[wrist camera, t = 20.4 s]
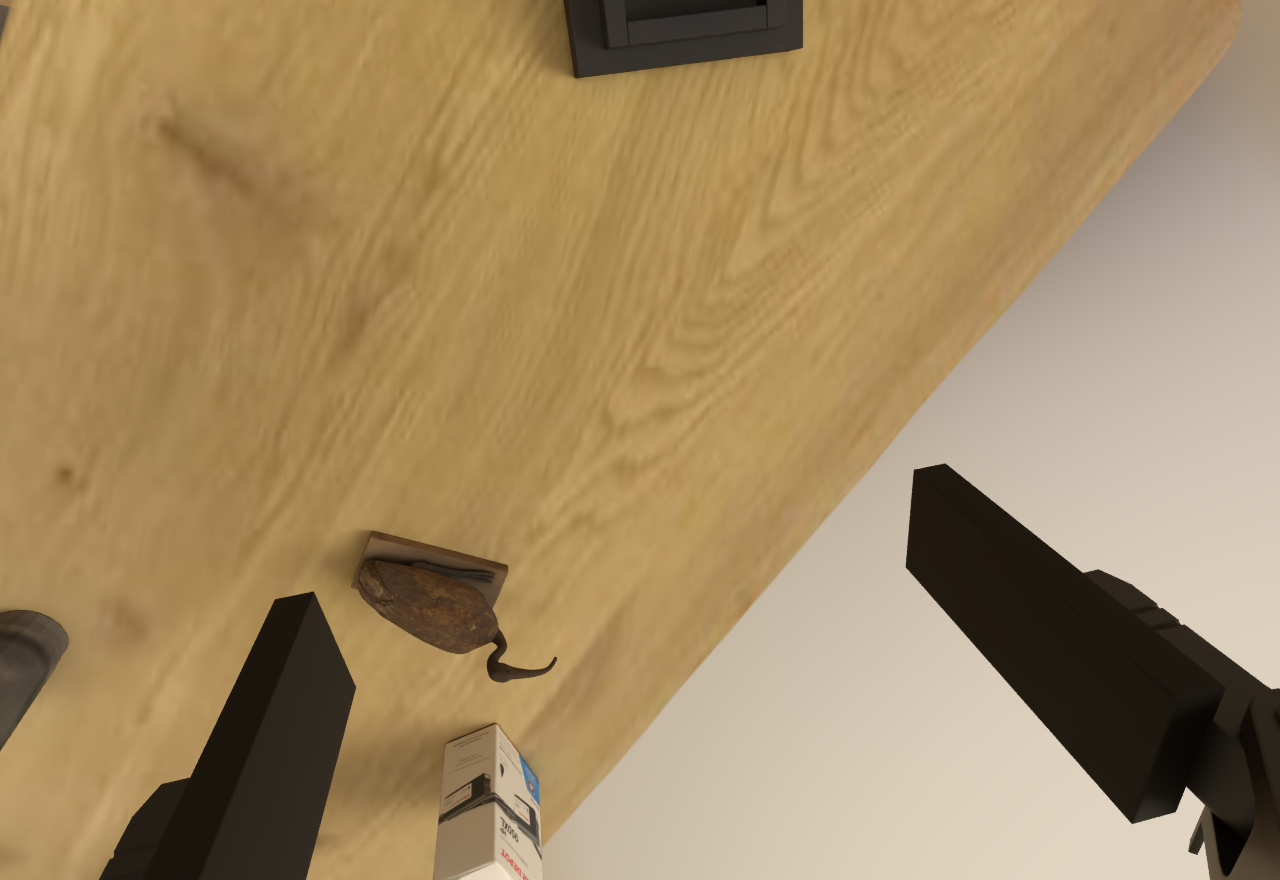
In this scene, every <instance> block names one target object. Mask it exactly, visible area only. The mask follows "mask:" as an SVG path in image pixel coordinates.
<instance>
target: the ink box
mask: <svg viewBox="0 0 1280 880" xmlns="http://www.w3.org/2000/svg"><path fill="white" fill-rule="evenodd" d="M433 880H543V874H542V850H541V829H540V807H539V782H538V779H537V777H536V776H535V775H534V774H533V772H532V771H531V770H530V768H529V767H528V765H527V764H526V763H525V761H524V760H523V759H522V757H521V756H520V755H519V753H518V752H517V751H516V749H515V748H514V746H513V745H512V744H511V742H510V741H509V740H508V738H507V737H506V736H505V734H504V733H503V732H502V730H501V729H500V728H499V726H498V725H497V724H494V725H491V726H489V727H487V728H484V729H482V730H479V731H477V732H474V733H472V734H469V735H467V736H465V737H462V738H460V739H458V740H455V741H452V742H450V743H448V744H446V746H445V755H444V767H443V778H442V789H441V800H440V811H439V821H438V830H437V840H436V851H435V861H434V871H433Z"/></svg>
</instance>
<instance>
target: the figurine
mask: <svg viewBox="0 0 1280 880" xmlns="http://www.w3.org/2000/svg"><path fill="white" fill-rule="evenodd" d="M507 574H508V566H507V565H504V564H499V563H496V562H492V561H487V560H484V559H480V558H476V557H472V556H468V555H464V554H461V553H457V552H453V551H449V550H445V549H441V548H438V547H434V546H430V545H426V544H422V543H418V542H415V541H411V540H407V539H403V538H399V537H395V536H391V535H387V534H383V533H379V532H375V531H373V532H372V534H371V536H370V539H369V541H368V544H367V547H366V549H365V552H364V555H363V557H362V560H361V562H360V565H359V567H358V570H357V573H356V575H355V578H354V580H353V583H352V585H351V587H352V588H354V589H358V590H359V592H360V595H361V596H362V598H363V599H364V600H365V601H366V602H367V603H368V604H369V605H370V606H371V607H373V608H374V609H375V610H376V611H377V612H378V613H379V614H380V615H381V616H382V617H384V618H385V619H387V620H389V621H390V622H392V623H394V624H395V625H397V626H398V627H400V628H402V629H403V630H405V631H406V632H408V633H410V634H411V635H413V636H415V637H416V638H418V639H420V640H422V641H424V642H426V643H428V644H430V645H432V646H434V647H437V648H439V649H441V650H444V651H447V652H450V653H456V654H464V653H468V652H470V651H472V650H474V649H477V648H479V647H481V646H483V645H485V644H488V643H490V642H493V643H495V644H496V645H497V649H496V650H495V651H494V652H493V653H492V654H491V655H490V656H489V658H488V661H487V671H488V674H489V677H490V678H491V679H492V680H494V681H496V682H507V681H509V680H511V679H521V678H530V677H535V676H540V675H543V674H545V673H547V672H548V671H549V670H551V669H552V667H553V666H554V665H555V663H556V661H557V657H554V659H553V661H552V662H551V664H550V665H549V666H548V667H546V668H543V669H538V670H527V669H520V668H515V667H511V666H509V665H507V664H504V663H499V662H498V660H499V658H500V657H501V656H502V655H503V654H504V653H505V651H506V649H507V643H506V640H505V638H504V636H503V634H502V632H501V631H500V630H499V628H498V622H497V618H496V616H495V613H494V612H493V610H492V609H493V607H494V604H495V602H496V600H497V597H498V595H499V593H500V590H501V588H502V586H503V583H504V581H505V578H506V576H507Z"/></svg>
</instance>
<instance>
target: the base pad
mask: <svg viewBox="0 0 1280 880" xmlns="http://www.w3.org/2000/svg"><path fill="white" fill-rule="evenodd" d="M564 5H565V12H566V19H567V26H568V33H569V40H570V47H571V54H572V61H573V68H574V75H575V78H583V77H590V76H598V75H606V74H614V73H622V72H630V71H637V70H645V69H653V68H661V67H669V66H676V65H684V64H692V63H700V62H708V61H715V60H723V59H731V58H739V57H747V56H754V55H762V54H770V53H778V52H786V51H791V50H796V49H800V48H803V0H564Z"/></svg>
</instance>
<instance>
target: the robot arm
mask: <svg viewBox="0 0 1280 880" xmlns="http://www.w3.org/2000/svg"><path fill="white" fill-rule="evenodd" d="M906 568H907V569H908V570H909V571H910V573H911V574H912V575H913V576H914V577H915V578H916V579H917V580H918V581H919V583H920V584H921V585H922V586H923V587H924V588H925V590H926V591H927V592H928V593H929V594H930V595H931V596H932V597H933V599H934V600H935V601H936V602H937V603H938V604H939V605H940V607H941V608H942V609H943V610H944V611H945V612H946V613H947V615H948V616H949V617H950V618H951V619H952V620H953V621H954V622H955V623H956V625H957V626H958V627H959V628H960V629H961V630H962V632H963V633H964V634H965V635H966V636H967V637H968V638H969V639H970V641H971V642H972V643H973V644H974V645H975V646H976V647H977V648H978V650H979V651H980V652H981V653H982V654H983V655H984V657H985V658H986V659H987V660H988V661H989V662H990V663H991V664H992V666H993V667H994V668H995V669H996V670H997V671H998V672H999V673H1000V675H1001V676H1002V677H1003V678H1004V679H1005V680H1006V681H1007V683H1008V684H1009V685H1010V686H1011V687H1012V688H1013V689H1014V691H1015V692H1016V693H1017V694H1018V695H1019V696H1020V697H1021V699H1022V700H1023V701H1024V702H1025V703H1026V704H1027V705H1028V707H1029V708H1030V709H1031V710H1032V711H1033V712H1034V713H1035V714H1036V715H1037V717H1038V718H1039V719H1040V720H1041V721H1042V722H1043V724H1044V725H1045V726H1046V727H1047V728H1048V729H1049V730H1050V731H1051V733H1052V734H1053V735H1054V736H1055V737H1056V738H1057V739H1058V741H1059V742H1060V743H1061V744H1062V745H1063V746H1064V747H1065V749H1066V750H1067V751H1068V752H1069V753H1070V754H1071V755H1072V756H1073V758H1074V759H1075V760H1076V761H1077V762H1078V763H1079V764H1080V766H1081V767H1082V768H1083V769H1084V770H1085V771H1086V772H1087V774H1088V775H1089V776H1090V777H1091V778H1092V779H1093V780H1094V781H1095V782H1096V784H1097V785H1098V786H1099V787H1100V788H1101V789H1102V791H1103V792H1104V793H1105V794H1106V795H1107V796H1108V797H1109V798H1110V800H1111V801H1112V802H1113V803H1114V804H1115V805H1116V806H1117V807H1118V809H1119V810H1120V811H1121V812H1122V813H1123V814H1124V815H1125V817H1126V818H1127V819H1128V820H1129V821H1130V822H1131V823H1132V824H1134V823H1138V822H1141V821H1145V820H1149V819H1152V818H1156V817H1160V816H1163V815H1167V814H1170V813H1174V812H1176V810H1177V808H1178V805H1179V803H1180V800H1181V798H1182V795H1183V793H1184V790H1185V788H1186V787H1187V788H1188V789H1190V791H1192V793H1194V795H1195V796H1196V797H1197V798H1199V799H1200V800H1201V801H1202V802H1203V803H1204V804H1205V807H1204V809H1203V812H1202V814H1201V816H1200V818H1199V821H1198V823H1197V825H1196V828H1195V830H1194V832H1193V835H1192V837H1191V839H1190V844H1189V851H1188V852H1190V853H1193V854H1196V855H1198V852H1199V850H1200V848H1201V846H1202V843H1203V841H1204V842H1205V849H1206V855H1207V861H1208V869H1209V875H1210V880H1280V689H1279V688H1278V689H1270V688H1269V687H1267V686H1266V685H1264V684H1263V683H1262V682H1260V681H1259V680H1257V679H1256V678H1255V677H1254V676H1252V675H1251V674H1249V673H1248V672H1247V671H1246V670H1244V669H1243V668H1242V667H1240V666H1239V665H1238V664H1236V663H1235V662H1234V661H1232V660H1231V659H1230V658H1228V657H1227V656H1226V655H1224V654H1223V653H1222V652H1220V651H1219V650H1218V649H1216V648H1215V647H1214V646H1212V645H1211V644H1210V643H1208V642H1207V641H1206V640H1204V639H1203V638H1202V637H1201V636H1199V635H1198V634H1197V633H1195V632H1194V631H1193V630H1191V629H1190V628H1189V627H1187V626H1185V625H1181V624H1180V623H1179V620H1178V619H1176V618H1175V617H1174V616H1173V615H1171V614H1170V613H1169V612H1167V611H1166V610H1164V609H1163V608H1159V607H1158V606H1157V603H1155V602H1154V601H1153V600H1151V599H1150V598H1149V597H1147V596H1146V595H1145V594H1143V593H1142V592H1140V591H1139V590H1138V589H1136V588H1135V587H1134V586H1133V585H1132V584H1129V583H1127V582H1125V581H1123V580H1120V579H1119V578H1116V577H1114V576H1112V575H1110V574H1108V573H1105V572H1103V571H1101V570H1099V569H1098V570H1094V571H1090V572H1085V573H1082V572H1081V571H1080V570H1078V569H1077V568H1076V567H1075V566H1073V565H1072V564H1071V563H1070V562H1068V561H1067V560H1066V559H1065V558H1063V557H1062V556H1061V555H1060V554H1058V553H1057V552H1056V551H1055V550H1053V549H1052V548H1051V547H1049V546H1048V545H1047V544H1046V543H1045V542H1043V541H1042V540H1041V539H1040V538H1038V537H1037V536H1036V535H1035V534H1033V533H1032V532H1031V531H1030V530H1028V529H1027V528H1026V527H1024V526H1023V525H1022V524H1021V523H1019V522H1018V521H1017V520H1016V519H1014V518H1013V517H1012V516H1011V515H1009V514H1008V513H1007V512H1006V511H1004V510H1003V509H1002V508H1001V507H999V506H998V505H997V504H996V503H994V502H993V501H992V500H991V499H989V498H988V497H987V496H986V495H984V494H983V493H982V492H981V491H979V490H978V489H977V488H976V487H974V486H973V485H972V484H971V483H969V482H968V481H967V480H965V479H964V478H963V477H962V476H961V475H959V474H958V473H957V472H955V471H954V470H953V469H952V468H950V467H949V466H948V465H947V464H940V465H935V466H931V467H925V468H921V469H916V470H914V475H913V486H912V499H911V510H910V522H909V534H908V545H907V557H906ZM355 690H356V686H355V684H354V682H353V679H352V677H351V675H350V673H349V670H348V668H347V666H346V663H345V661H344V659H343V657H342V654H341V652H340V650H339V647H338V645H337V643H336V641H335V638H334V636H333V634H332V632H331V629H330V627H329V625H328V622H327V620H326V618H325V616H324V613H323V611H322V609H321V607H320V604H319V602H318V600H317V597H316V595H315V593H314V592H309V593H304V594H299V595H294V596H289V597H284V598H279V599H275V601H274V603H273V605H272V607H271V609H270V611H269V613H268V615H267V617H266V619H265V622H264V624H263V626H262V628H261V630H260V632H259V634H258V636H257V638H256V640H255V643H254V645H253V647H252V649H251V651H250V653H249V655H248V657H247V659H246V662H245V664H244V666H243V668H242V670H241V672H240V674H239V676H238V678H237V680H236V683H235V685H234V687H233V689H232V691H231V693H230V695H229V697H228V699H227V701H226V704H225V706H224V708H223V710H222V712H221V714H220V716H219V718H218V720H217V723H216V725H215V727H214V729H213V731H212V733H211V735H210V737H209V739H208V741H207V744H206V746H205V748H204V750H203V752H202V754H201V756H200V758H199V760H198V763H197V765H196V767H195V769H194V771H193V773H192V775H191V777H190V778H186V779H182V780H178V781H173V782H169V783H164V784H161V785H160V786H159V788H158V789H157V790H156V791H155V792H154V793H153V794H152V795H151V797H150V798H149V799H148V800H147V801H146V802H145V803H144V804H143V806H142V807H141V808H140V809H139V810H138V811H137V812H136V813H135V815H134V816H133V817H132V818H131V820H130V822H129V824H128V826H127V828H126V830H125V832H124V833H123V835H122V837H121V839H120V841H119V843H118V845H117V847H116V849H115V850H114V858H112V859H110V860H109V862H108V864H107V865H106V867H105V869H104V871H103V873H102V875H101V877H100V879H99V880H306V877H307V873H308V870H309V866H310V862H311V858H312V854H313V850H314V847H315V843H316V839H317V835H318V831H319V827H320V824H321V820H322V816H323V812H324V808H325V805H326V801H327V797H328V793H329V789H330V785H331V782H332V778H333V774H334V770H335V766H336V762H337V759H338V755H339V751H340V747H341V743H342V739H343V736H344V732H345V728H346V724H347V720H348V716H349V713H350V709H351V705H352V701H353V697H354V694H355Z"/></svg>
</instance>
